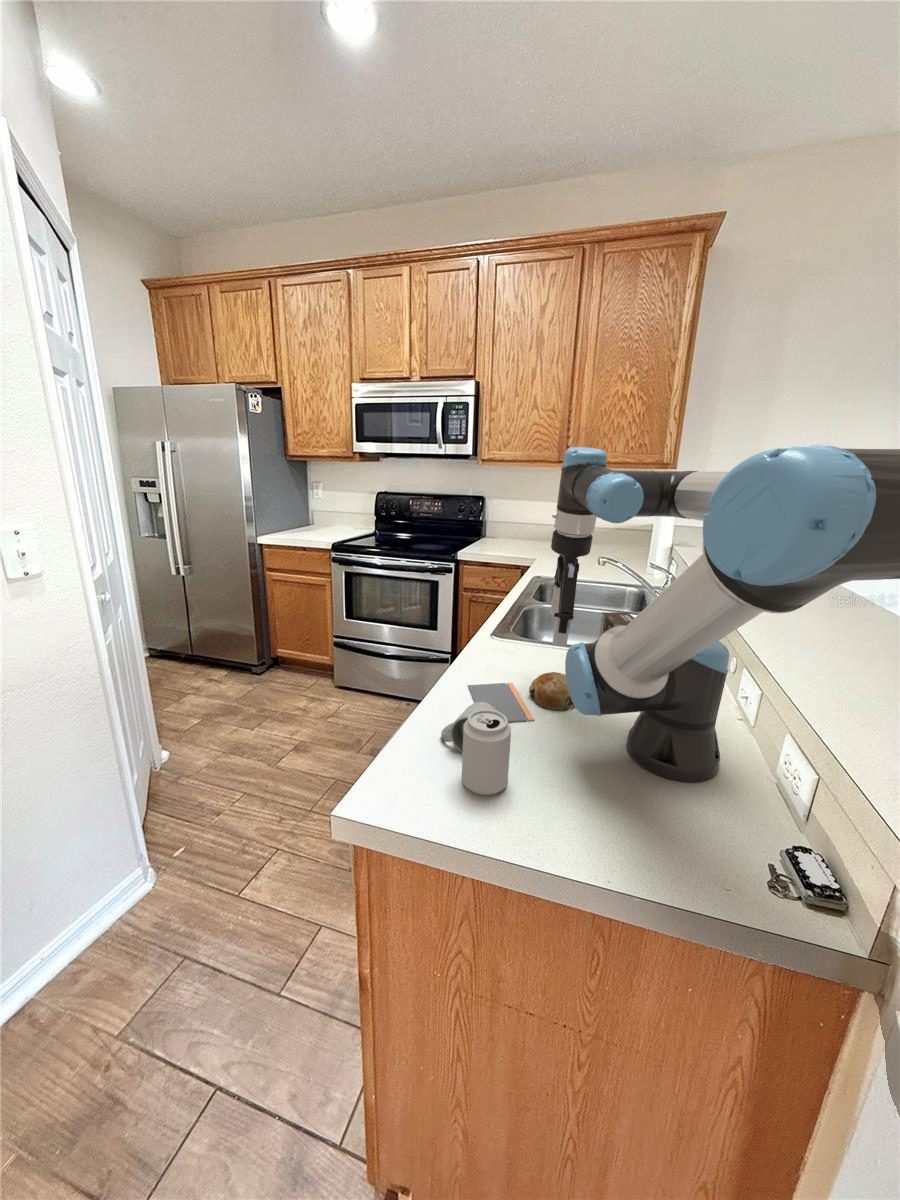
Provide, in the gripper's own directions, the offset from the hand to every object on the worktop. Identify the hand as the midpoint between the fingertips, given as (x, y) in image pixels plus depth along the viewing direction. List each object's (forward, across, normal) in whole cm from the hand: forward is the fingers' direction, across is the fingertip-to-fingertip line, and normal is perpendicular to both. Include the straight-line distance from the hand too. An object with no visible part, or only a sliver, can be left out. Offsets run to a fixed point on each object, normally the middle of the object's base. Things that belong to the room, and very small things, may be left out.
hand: (557, 628), depth 102 cm
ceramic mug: (+14, +23, -15) cm, 31 cm away
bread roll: (+16, +3, +1) cm, 16 cm away
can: (+12, +33, -12) cm, 38 cm away
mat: (+16, +7, -11) cm, 20 cm away
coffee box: (+16, -7, +15) cm, 24 cm away
